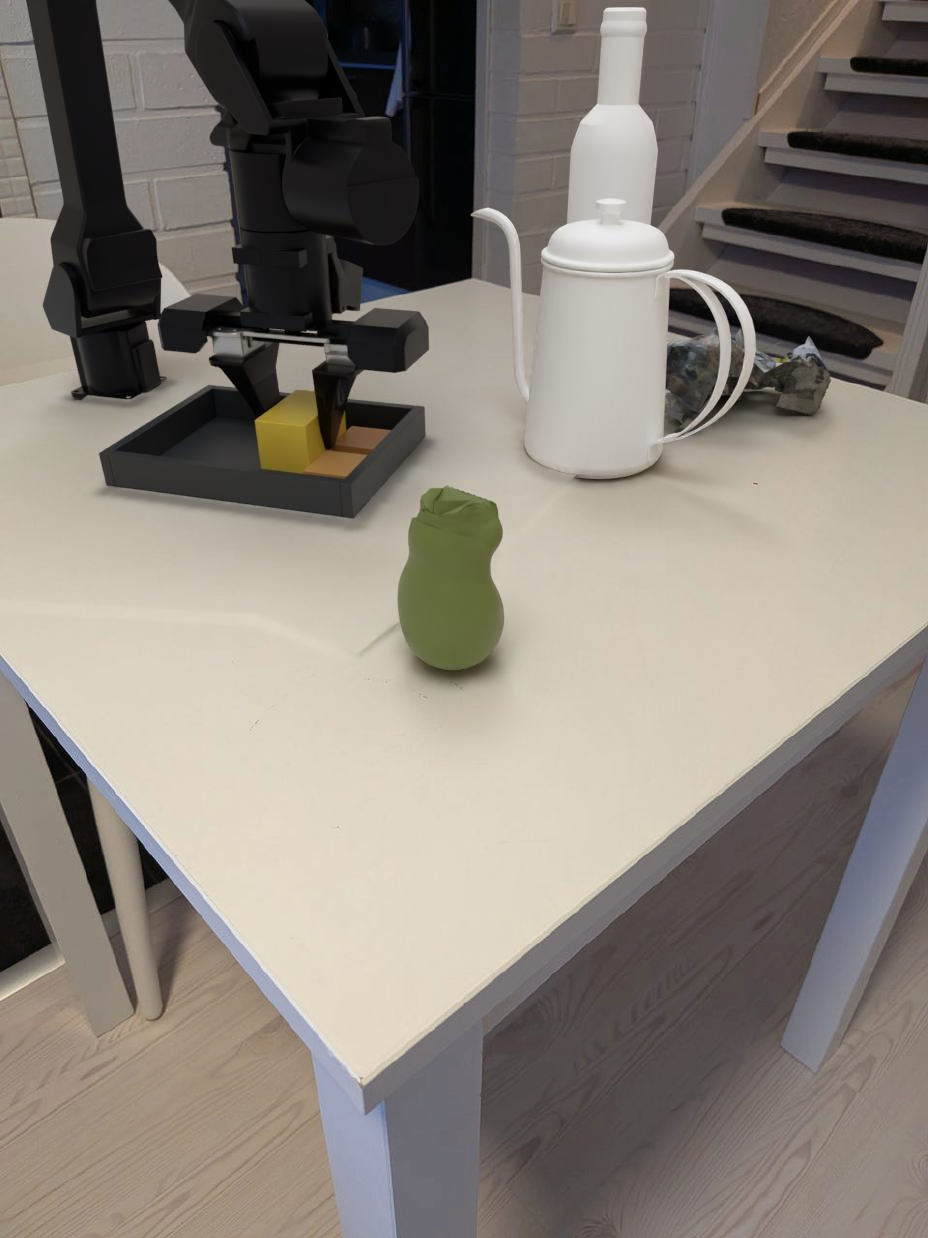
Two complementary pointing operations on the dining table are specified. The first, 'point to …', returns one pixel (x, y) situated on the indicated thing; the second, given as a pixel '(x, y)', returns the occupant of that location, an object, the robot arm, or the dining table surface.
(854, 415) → the dining table surface
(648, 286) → the coffeepot
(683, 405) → the foil
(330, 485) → the pan
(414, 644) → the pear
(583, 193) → the bottle
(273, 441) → the sponge
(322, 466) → the block
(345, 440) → the block
